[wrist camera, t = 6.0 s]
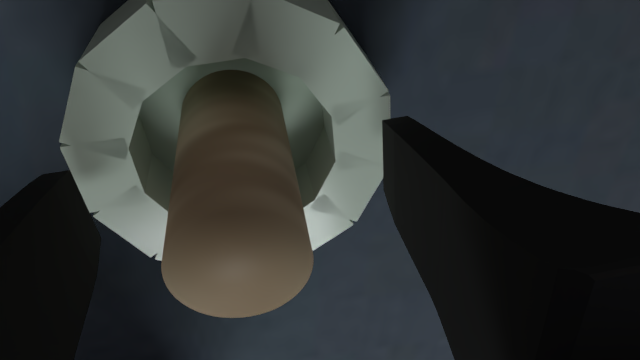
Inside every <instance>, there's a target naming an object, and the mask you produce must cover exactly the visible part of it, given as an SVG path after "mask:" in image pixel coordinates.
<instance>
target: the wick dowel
mask: <svg viewBox="0 0 640 360" xmlns="http://www.w3.org/2000/svg"><path fill="white" fill-rule="evenodd" d="M312 268H313V251H312V247H311V242H310V237H309V233H308V228H307V223H306V219H305V214H304V209H303V205H302V200H301V195H300V191H299V186H298V181H297V177H296V172H295V167H294V163H293V158H292V153H291V149H290V144H289V139H288V135H287V130H286V125H285V121H284V116H283V111H282V107H281V103H280V100H279V98H278V96H277V94H276V92H275V91H274V89H273V88H272V87H271V86H270V85H269V84H268V83H267V82H266V81H264V80H263V79H261V78H260V77H258V76H256V75H254V74H252V73H249V72H246V71H241V70H221V71H217V72H213V73H211V74H208V75H206V76H204V77H203V78H201V79H200V80H198V81H197V82H196V83H195V84H194V85H193V86H192V87H191V88H190V89H189V91H188V92H187V94H186V96H185V98H184V101H183V104H182V110H181V118H180V125H179V133H178V141H177V148H176V156H175V164H174V171H173V179H172V186H171V194H170V202H169V209H168V217H167V225H166V232H165V240H164V248H163V255H162V263H161V270H162V276H163V280H164V282H165V284H166V286H167V288H168V289H169V291H170V292H171V294H172V295H173V296H174V297H175V298H176V299H177V300H179V301H180V302H181V303H182V304H184V305H186V306H187V307H189V308H191V309H193V310H195V311H197V312H200V313H203V314H206V315H211V316H216V317H223V318H242V317H250V316H255V315H259V314H263V313H266V312H269V311H271V310H274V309H276V308H278V307H280V306H282V305H283V304H285V303H287V302H288V301H290V300H291V299H292V298H293V297H295V296H296V295H297V294H298V293H299V292H300V291H301V290H302V288H303V287H304V286H305V284H306V283H307V281H308V279H309V277H310V275H311V272H312Z"/></svg>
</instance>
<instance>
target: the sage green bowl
mask: <svg viewBox="0 0 640 360" xmlns="http://www.w3.org/2000/svg"><path fill="white" fill-rule="evenodd" d="M221 70H241V71H246V72H249V73H252V74H254V75H256V76H258V77H260V78H261V79H263V80H264V81H266V82H267V83H268V84H269V85H270V86H271V87H272V88H273V89H274V91H275V92H276V94H277V96H278V98H279V100H280V103H281V107H282V111H283V116H284V121H285V125H286V130H287V135H288V139H289V144H290V149H291V153H292V158H293V163H294V167H295V172H296V177H297V181H298V186H299V191H300V195H301V200H302V205H303V209H304V214H305V219H306V223H307V228H308V233H309V237H310V242H311V247H312V251H313V250H315V249H317V248H318V247H320V246H321V245H323V244H324V243H326V242H327V241H329V240H331V239H332V238H334V237H335V236H337V235H338V234H340V233H341V232H343V231H345V230H346V229H348V228H349V227H351V226H352V225H354V224H353V221H357V220H358V219H359V217H360V215H361V214H362V212H363V210H364V209H365V207H366V205H367V204H368V202H369V200H370V199H371V197H372V195H373V194H374V192H375V190H376V189H377V187H378V185H379V184H380V182H381V180H382V179H383V138H382V120H386V119H390V94H389V93H388V89H387V87H386V86H385V84H384V83H383V81H382V79H381V78H380V76H379V75H378V73H377V71H376V70H375V68H374V67H373V65H372V63H371V62H370V60H369V59H368V57H367V55H366V54H365V52H364V51H363V49H362V48H361V47H360V45H359V44H358V42H357V41H356V39H355V38H354V37H353V35H352V34H351V32H350V31H349V29H348V28H347V26H346V25H345V24H344V22H343V21H342V19H341V18H340V16H339V15H338V13H337V12H336V11H335V9H334V8H333V6H332V5H331V3H330V2H329V1H328V0H128V1H127V2H126V3H124V4H123V5H122V6H121V7H120V8H119V9H117V10H116V11H115V12H114V13H113V14H112V15H111V16H109V17H108V18H107V19H106V20H105V21H104V22H102V23H101V24H100V26H99V27H98V29H97V31H96V32H95V34H94V36H93V37H92V39H91V41H90V43H89V44H88V46H87V48H86V49H85V51H84V53H83V54H82V56H81V58H80V59H79V61H78V63H77V64H76V66H75V70H74V74H73V79H72V84H71V88H70V93H69V98H68V102H67V107H66V112H65V116H64V121H63V126H62V130H61V135H60V140H59V142H60V143H62V144H61V146H60V149H61V151H62V154H63V156H64V158H65V160H66V162H67V164H68V167H69V169H70V171H71V173H72V175H73V178H74V180H75V182H76V184H77V186H78V188H79V191H80V193H81V195H82V197H83V199H84V202H85V204H86V206H87V208H88V210H89V212H90V213H91V212H94V214H93V217H94V218H96V219H97V220H98V221H100V222H101V223H103V224H104V225H105V226H107V227H108V228H110V229H111V230H112V231H114V232H115V233H117V234H118V235H120V236H121V237H122V238H124V239H125V240H127V241H128V242H129V243H131V244H132V245H134V246H135V247H136V248H138V249H139V250H141V251H142V252H143V253H145V254H146V255H148V256H149V257H150V258H151V257H152V256H154V255H155V254H156V256H155V260H160V261H162V255H163V248H164V240H165V232H166V225H167V217H168V209H169V202H170V194H171V186H172V179H173V171H174V164H175V156H176V148H177V141H178V133H179V125H180V118H181V110H182V104H183V101H184V98H185V96H186V94H187V92H188V91H189V89H190V88H191V87H192V86H193V85H194V84H195V83H196V82H197V81H198V80H200V79H201V78H203V77H204V76H206V75H208V74H211V73H213V72H217V71H221ZM352 220H353V221H352Z"/></svg>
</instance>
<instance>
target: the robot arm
mask: <svg viewBox="0 0 640 360" xmlns="http://www.w3.org/2000/svg"><path fill="white" fill-rule="evenodd" d="M382 138H383V182H384V192H385V196H386V199H387V202H388V205H389V208H390V211H391V214H392V217H393V220H394V223H395V225H396V227H397V229H398V231H399V233H400V235H401V237H402V239H403V241H404V243H405V246H406V248H407V250H408V252H409V254H410V256H411V258H412V260H413V262H414V264H415V266H416V268H417V270H418V272H419V274H420V276H421V278H422V280H423V282H424V284H425V286H426V288H427V290H428V292H429V294H430V296H431V298H432V301H433V303H434V305H435V307H436V310H437V312H438V315H439V318H440V320H441V323H442V326H443V329H444V331H445V334H446V337H447V340H448V342H449V345H450V348H451V351H452V354H453V356H454V359H455V360H640V213H638V212H633V211H629V210H624V209H620V208H615V207H611V206H607V205H603V204H599V203H595V202H591V201H588V200H584V199H581V198H578V197H574V196H571V195H568V194H565V193H561V192H558V191H555V190H552V189H549V188H546V187H543V186H541V185H538V184H536V183H533V182H531V181H528V180H526V179H523V178H521V177H518V176H516V175H513V174H511V173H509V172H506V171H504V170H502V169H500V168H498V167H496V166H494V165H492V164H490V163H488V162H486V161H484V160H482V159H480V158H478V157H476V156H474V155H472V154H471V153H469V152H467V151H465V150H463V149H462V148H460V147H458V146H456V145H455V144H453V143H451V142H450V141H448V140H446V139H445V138H443V137H441V136H440V135H438V134H437V133H435V132H433V131H432V130H430V129H428V128H427V127H425V126H424V125H422V124H420V123H419V122H417V121H415V120H414V119H412V118H410V117H408V116H405V117H399V118H392V119H386V120H382ZM100 244H101V237H100V235H99V233H98V230H97V228H96V226H95V224H94V222H93V219H92V217H91V215H90V213H89V211H88V209H87V206H86V204H85V202H84V200H83V198H82V196H81V193H80V191H79V189H78V187H77V185H76V182H75V180H74V178H73V176H72V174H71V172H70V170H68V171H62V172H55V173H49V174H43V175H41V176H39V177H38V178H36V179H35V180H34V181H32V182H31V183H30V184H28V185H27V186H26V187H24V188H23V189H22V190H21V191H20V192H18V193H17V194H16V195H15V196H13V197H12V198H11V199H10V200H9V201H8V202H6V203H5V204H4V205H3V206H2V207H0V360H74V356H75V353H76V349H77V346H78V342H79V338H80V335H81V331H82V328H83V324H84V321H85V317H86V314H87V310H88V307H89V303H90V299H91V296H92V292H93V288H94V285H95V281H96V277H97V270H98V263H99V254H100Z"/></svg>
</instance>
